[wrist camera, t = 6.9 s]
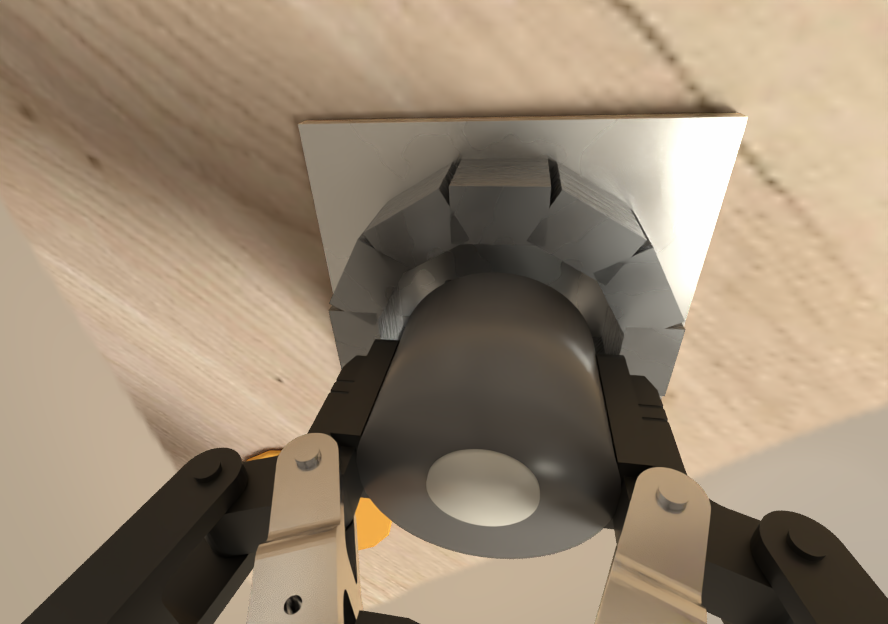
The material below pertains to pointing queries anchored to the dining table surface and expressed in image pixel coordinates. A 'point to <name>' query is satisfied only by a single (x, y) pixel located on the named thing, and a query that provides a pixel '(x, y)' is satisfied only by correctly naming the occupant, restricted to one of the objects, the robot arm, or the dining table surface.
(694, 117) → the segmented ring on plate
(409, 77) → the dining table surface
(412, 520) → the cap
